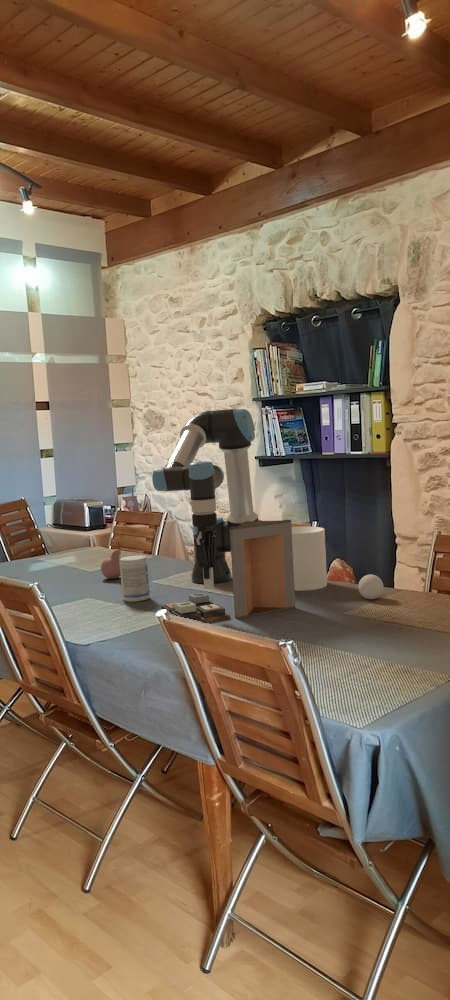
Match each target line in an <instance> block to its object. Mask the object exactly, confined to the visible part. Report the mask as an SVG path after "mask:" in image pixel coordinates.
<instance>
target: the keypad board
mask: <svg viewBox="0 0 450 1000" xmlns="http://www.w3.org/2000/svg"><path fill="white" fill-rule="evenodd" d="M180 602H181V603H183V601H180ZM184 602H190V601H189V600H186V601H184ZM211 604H215V605H217V606H219V607H221V608H220V609H214V610H208V611H204V610H202V609H200V608H199V606H205V605H211ZM165 605H166V604H162V605H161V610H162V609H167V610H168V611H169V612H170V613H171V614H174V615H176V616H180V617H184V618H189V619H193V620H197V621H201V622H204V623H203V624H206V623H211V622H217V621H223V620H229V619H231V614H229V613H228V612H226V609H225V607H224V606H221V605H219V604H217V603H214V602H213V601H211V600H209V602H203V603H197V604H196V611H194V612H188V613H182V614H180V613H179V612H177V611H175V608H174V609H169V608H167V607H166V606H165Z"/></svg>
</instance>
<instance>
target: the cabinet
mask: <svg viewBox="0 0 450 1000" xmlns="http://www.w3.org/2000/svg"><path fill="white" fill-rule="evenodd" d="M230 543H231V552H230V557H231V579H232V591H233V594H232V595H233V607H234V609H233V610H234V619H236V620H240V619H245V618H250V617H255V616H262V615H267V614H271V613H277V612H282V611H286V610H287V611H288V610H292V609H296V594H295V591H296V590H295V588H294V568H293V548H292V519H282V520H261V521H245V522H243V523H242V524H240V525H238V526H236V527H230Z"/></svg>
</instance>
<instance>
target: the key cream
mask: <svg viewBox="0 0 450 1000" xmlns="http://www.w3.org/2000/svg"><path fill="white" fill-rule="evenodd" d="M215 604H216V603H214V604H211V605H205V606H199V608H200V609H202V610H204V611H208V610H214V609H220V608H221V607H222V606H221V607H219V606H220V605H219V606H217V605H218V604H217V605H215Z"/></svg>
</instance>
